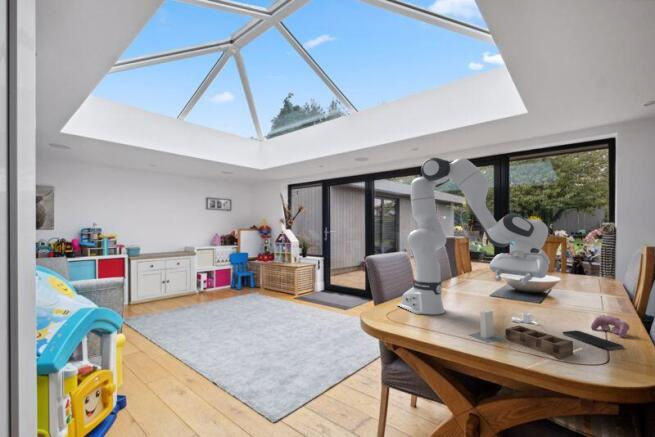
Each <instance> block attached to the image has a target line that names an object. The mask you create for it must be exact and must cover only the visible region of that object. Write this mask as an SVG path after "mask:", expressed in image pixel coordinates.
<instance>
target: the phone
mask: <svg viewBox="0 0 655 437" xmlns="http://www.w3.org/2000/svg"><path fill="white" fill-rule="evenodd" d="M562 335H563V336H566V337H568V338H571V339H574V340H577V341H579V342H582V343H583V344H587V345H589V346H592V347H595V348H598V349H600V350H605V351H615V349H617V350H622V349H621V348H623V349H624V345H623V344H620V343H617V342H614V341H612V340H608V339H605V338H602V337H599V336H596V335H593V334H590V333H588V332H584V331H580V330H567V331H562Z"/></svg>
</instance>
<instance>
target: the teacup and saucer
mask: <svg viewBox="0 0 655 437" xmlns="http://www.w3.org/2000/svg"><path fill="white" fill-rule="evenodd" d="M531 317H533V318H532V319H531ZM534 319H535V316H534V315H533V314H531V313H529V312H521V318H519V317H514V316H512V317H511V321H513V322H515V323H517V324H520V325H523V326H527V324H528V326H530V327H531V326H532V327H534V326H535V327H536V326H538V325H539V323H538V322H536V321H534ZM530 323H533V324H530Z"/></svg>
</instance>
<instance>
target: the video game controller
mask: <svg viewBox="0 0 655 437" xmlns="http://www.w3.org/2000/svg"><path fill="white" fill-rule="evenodd" d="M610 326H613V327H612V328H611V327H610ZM599 327H601V329H602V330H603V331H605V332H609V331H611V332H612V333H614V334H615V335H618V337H619V338H621V337H622V338H624V337H625V336H626V335H627V333H628V331H629V330H630V325H629V323H627V322H626V321H625V320H622V319H619V318H618V317H615V316H609V315H598V316H597V317H596V318H595V319H594V320H593V322H592V324H591V326H590V328H591V330H593V331H595V330H597V329H598V328H599Z"/></svg>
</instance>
